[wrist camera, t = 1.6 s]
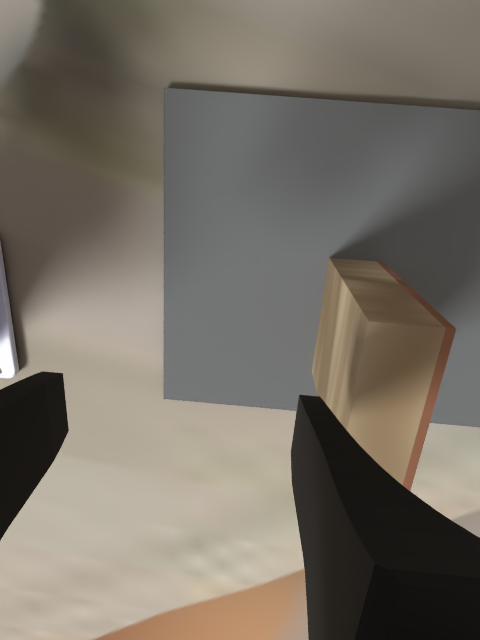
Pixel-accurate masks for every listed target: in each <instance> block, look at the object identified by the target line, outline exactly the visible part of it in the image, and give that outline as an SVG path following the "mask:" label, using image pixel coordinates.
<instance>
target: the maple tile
mask: <svg viewBox="0 0 480 640" xmlns="http://www.w3.org/2000/svg"><path fill="white" fill-rule="evenodd" d="M455 332H456V328H455V327H454V326H453V325H452V324H451V323H449V322H448V321H447V320H446V319H445V318H444V317H443V316H442V315H441V314H440V313H438V312H437V311H436V310H435V309H434V308H433V307H432V306H431V305H430V304H429V303H427V302H426V301H425V300H424V299H423V298H422V297H421V296H420V295H419V294H418V293H416V292H415V291H414V290H413V289H412V288H411V287H410V286H409V285H408V284H407V283H405V282H404V281H403V280H402V279H401V278H400V277H399V276H398V275H397V274H396V273H394V272H393V271H392V270H391V269H390V268H389V267H388V266H387V265H386V264H385V263H383V262H377V261H365V260H353V259H340V258H329V261H328V267H327V274H326V280H325V287H324V294H323V300H322V307H321V313H320V320H319V327H318V333H317V340H316V346H315V353H314V359H313V366H312V374H313V379H314V384H315V388H316V393H317V396H320V397H321V398H322V399H323V401H324V402H325V403H326V405H327V406H328V407H329V408H330V410H331V411H332V412H333V414H334V415H335V416H336V418H337V419H338V420H339V421H340V423H341V424H342V425H343V426H344V428H345V429H346V430H347V431H348V432H349V434H350V435H351V436H352V437H353V438H354V439H355V441H356V442H357V443H358V444H359V445H360V446H361V447H362V448H363V449H364V450H365V451H366V452H367V453H368V454H369V455H370V456H371V457H372V458H373V459H374V460H375V461H376V462H377V463H378V464H379V465H380V466H381V467H382V468H383V469H384V470H385V471H386V472H388V473H389V474H390V475H391V476H392V477H393V478H395V479H396V480H397V481H398V482H399V483H400V484H402V485H403V486H404V487H405V488H407V489H408V490H409V491H410V490H411V486H412V483H413V479H414V476H415V472H416V469H417V465H418V462H419V458H420V455H421V451H422V448H423V444H424V441H425V437H426V434H427V430H428V427H429V423H430V420H431V416H432V413H433V409H434V406H435V402H436V399H437V395H438V392H439V388H440V385H441V381H442V378H443V374H444V371H445V367H446V364H447V360H448V357H449V353H450V350H451V346H452V343H453V339H454V336H455Z"/></svg>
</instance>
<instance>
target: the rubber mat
mask: <svg viewBox="0 0 480 640" xmlns="http://www.w3.org/2000/svg"><path fill="white" fill-rule="evenodd" d="M329 258H340V259H353V260H365V261H377V262H383V263H385V264H386V265H387V266H388V267H389V268H390V269H391V270H392V271H393V272H394V273H396V274H397V275H398V276H399V277H400V278H401V279H402V280H403V281H404V282H405V283H407V284H408V285H409V286H410V287H411V288H412V289H413V290H414V291H415V292H416V293H418V294H419V295H420V296H421V297H422V298H423V299H424V300H425V301H426V302H427V303H429V304H430V305H431V306H432V307H433V308H434V309H435V310H436V311H437V312H438V313H440V314H441V315H442V316H443V317H444V318H445V319H446V320H447V321H448V322H449V323H451V324H452V325H453V326H454V327H455V328H456V332H455V336H454V339H453V343H452V346H451V350H450V353H449V357H448V360H447V364H446V367H445V371H444V374H443V378H442V381H441V385H440V388H439V392H438V395H437V399H436V402H435V406H434V409H433V413H432V416H431V420H430V423H438V424H449V425H460V426H471V427H480V110H468V109H454V108H440V107H426V106H412V105H398V104H384V103H371V102H357V101H343V100H329V99H315V98H301V97H287V96H273V95H259V94H245V93H231V92H217V91H203V90H189V89H175V88H164V399H172V400H183V401H194V402H205V403H216V404H227V405H238V406H249V407H260V408H271V409H282V410H294V411H297V406H298V399H299V395H309V396H317V393H316V388H315V384H314V379H313V374H312V366H313V359H314V353H315V346H316V340H317V333H318V327H319V320H320V313H321V307H322V300H323V294H324V287H325V280H326V274H327V267H328V261H329Z"/></svg>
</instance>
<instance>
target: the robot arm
mask: <svg viewBox="0 0 480 640" xmlns="http://www.w3.org/2000/svg"><path fill="white" fill-rule="evenodd" d="M0 368H1V369H2V371H1V370H0V378H13V377H14V376H15V375H16V374H17V373H18V372H19V366H18V359H17V352H16V345H15V338H14V331H13V324H12V318H11V311H10V304H9V297H8V290H7V283H6V276H5V269H4V262H3V255H2V248H1V241H0ZM68 431H69V430H68V420H67V411H66V401H65V391H64V381H63V373H53V372H40V373H37V374H34V375H32V376H30V377H27V378H25V379H23V380H20V381H18V382H16V383H14V384H12V385H9V386H7V387H5V388H3V389H1V390H0V540H1V538H2V537H3V535H4V534H5V532H6V530H7V529H8V527H9V526H10V524H11V523H12V521H13V520H14V518H15V517H16V515H17V514H18V513H19V511H20V510H21V508H22V507H23V505H24V504H25V502H26V501H27V500H28V498H29V497H30V495H31V494H32V492H33V491H34V489H35V488H36V486H37V485H38V484H39V482H40V481H41V479H42V478H43V476H44V475H45V473H46V472H47V470H48V469H49V467H50V466H51V464H52V463H53V461H54V459H55V457H56V455H57V454H58V452H59V450H60V448H61V446H62V444H63V441H64V439H65V437H66V435H67V433H68ZM291 469H292V486H293V493H294V500H295V506H296V513H297V519H298V526H299V532H300V538H301V545H302V551H303V558H304V567H305V579H306V596H307V614H308V634H309V640H480V538H479V537H477V536H475V535H474V534H472V533H471V532H469V531H467V530H466V529H464V528H463V527H461V526H459V525H458V524H456V523H454V522H453V521H451V520H450V519H448V518H447V517H445V516H444V515H442V514H441V513H439V512H438V511H436V510H435V509H433V508H432V507H431V506H429V505H428V504H426V503H425V502H424V501H422V500H421V499H420V498H418V497H417V496H416V495H414V494H413V493H412V492H410V491H409V490H408V489H407V488H405V487H404V486H403V485H402V484H400V483H399V482H398V481H397V480H396V479H395V478H393V477H392V476H391V475H390V474H389V473H388V472H386V471H385V470H384V469H383V468H382V467H381V466H380V465H379V464H378V463H377V462H376V461H375V460H374V459H373V458H372V457H371V456H370V455H369V454H368V453H367V452H366V451H365V450H364V449H363V448H362V447H361V446H360V445H359V444H358V443H357V442H356V441H355V439H354V438H353V437H352V436H351V435H350V434H349V432H348V431H347V430H346V429H345V428H344V426H343V425H342V424H341V423H340V421H339V420H338V419H337V418H336V416H335V415H334V414H333V412H332V411H331V410H330V408H329V407H328V406H327V405H326V403H325V402H324V401H323V399H322V398H321V397H320V396H309V395H299V399H298V406H297V413H296V420H295V427H294V434H293V441H292V448H291Z"/></svg>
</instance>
